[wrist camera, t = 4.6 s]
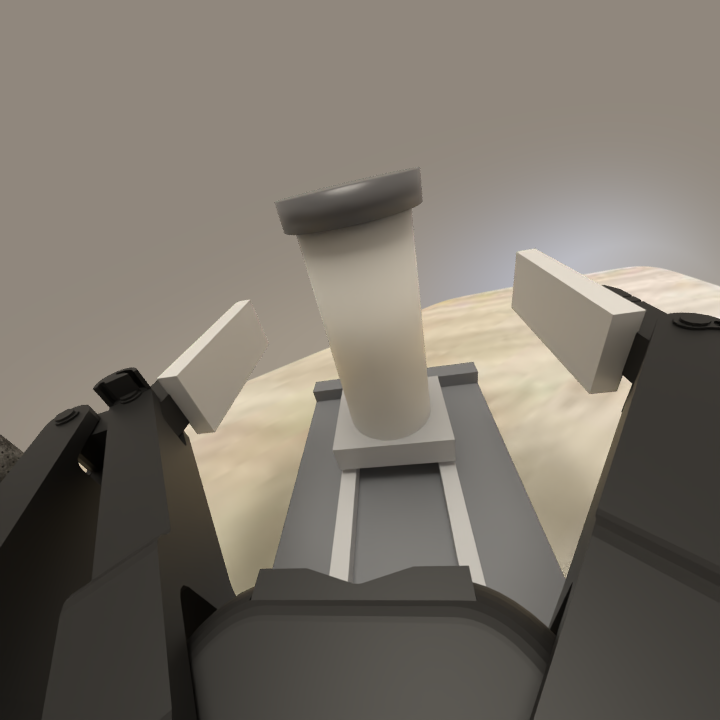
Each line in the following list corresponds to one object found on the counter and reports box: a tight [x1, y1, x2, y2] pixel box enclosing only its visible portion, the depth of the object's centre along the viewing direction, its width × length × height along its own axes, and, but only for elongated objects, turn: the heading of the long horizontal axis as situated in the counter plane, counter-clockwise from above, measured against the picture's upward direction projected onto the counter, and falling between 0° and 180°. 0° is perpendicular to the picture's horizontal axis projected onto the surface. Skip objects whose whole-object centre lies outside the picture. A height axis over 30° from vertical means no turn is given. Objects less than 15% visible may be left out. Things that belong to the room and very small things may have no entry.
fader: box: [275, 167, 456, 470], centre depth 14 cm, size 6×5×13 cm
